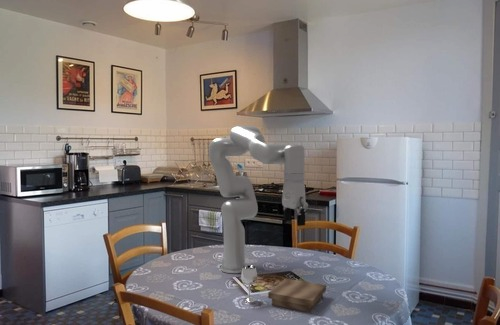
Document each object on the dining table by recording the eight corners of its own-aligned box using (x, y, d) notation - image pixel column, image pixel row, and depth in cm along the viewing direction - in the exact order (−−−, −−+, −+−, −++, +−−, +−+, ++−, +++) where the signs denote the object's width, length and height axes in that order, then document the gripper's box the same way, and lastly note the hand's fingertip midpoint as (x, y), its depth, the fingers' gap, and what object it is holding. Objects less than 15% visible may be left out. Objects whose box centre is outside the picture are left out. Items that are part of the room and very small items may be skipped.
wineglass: (240, 297, 143) (240, 265, 143) (256, 296, 144) (256, 264, 143) (241, 303, 138) (241, 270, 137) (258, 303, 138) (257, 269, 138)
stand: (268, 305, 136) (268, 292, 136) (285, 289, 150) (285, 278, 150) (312, 314, 129) (312, 300, 129) (326, 297, 143) (326, 285, 143)
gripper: (274, 176, 152) (274, 219, 153) (297, 180, 137) (297, 228, 137) (291, 175, 155) (291, 218, 156) (315, 179, 140) (315, 226, 140)
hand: (294, 223), depth 147 cm, fingers open, 9 cm apart
